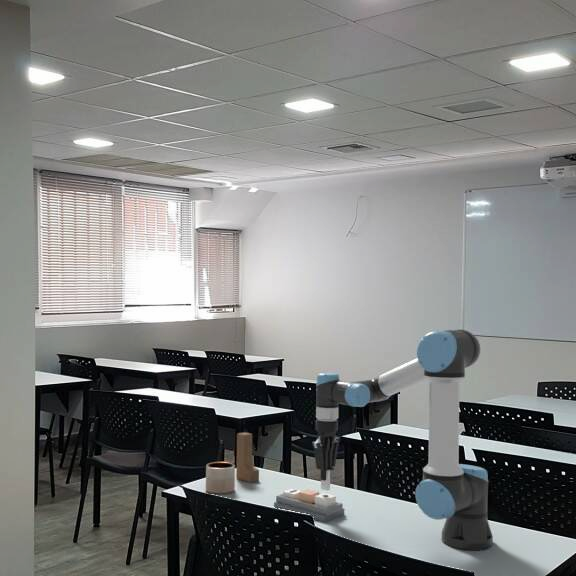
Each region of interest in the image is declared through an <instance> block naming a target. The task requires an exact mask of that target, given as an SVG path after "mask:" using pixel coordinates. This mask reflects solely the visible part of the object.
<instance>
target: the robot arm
mask: <svg viewBox="0 0 576 576" xmlns="http://www.w3.org/2000/svg"><path fill="white" fill-rule="evenodd" d="M480 354H481V343H480V342H479V340H478V338H477V337H476V336H475V334H473V332H471V331H468V330H465V329H440V330H435V331H431V332H428V333H427V334H425V335H424V336H423V337H422V338H421V339H420V340H419V342H418V345H417V348H416V357H417V358H415V359H413V360H410V361H409V362H406V363H404V364H402V365H400V366H399V365H398V366H397V367H395V368H393V369H391V370H388V371H387V372H385V373H383V374H380V375H378V376H376V377H374V378H372V379H367V380H366V379H365V380H358V381H343V380H341V379H340V376H339V374H338V373H336V372H320V373H318V374H317V375H316V384H315V386H316V389H315V390H316V392H315V393H316V394H315V396H316V401H315V403H316V404H315V405H316V406H315V407H316V409H315V412H316V413H315V418H316V420H315V431H316V432H317V436H316V440H315V441H312V443H311V445H312V448H313V452H314V458H315V467H316V469H317V470H318V471H319V470H320V489H321V490H324V491H330V490H331V477H332V475H331V474H332V473H331V472H332V471H334V470H335V468H334V467H336V464H337V463H336V462H337V456H338V450H339V444H340V443H341V438H340V437H338V436H337V434H336V432H337V431H338V430H339V420H338V419H339V404H340V405H344V406H350V407H354V408H356V407H359V408H362V407H365V406H366V405H368V404H369V403H375V402H383V401H386V400H388V399H389V398H390V397H391V396H393V395H395V394H397V393H401V392H403V391H404V390H406V389H409V388H411V387H414V386H416V385H418V384H421V383H423V382H425V381H428V382H429V384H428V385H429V386H428V463H427V464H426V465H425V466H424V467H423V469H422V480H421V481H420V482H419V483H418V484H417V486H416V488H415V501H416V503H417V506H418V507H419V509H420V510H421V511H422V513H423V514H424V515H426V517H428V518H430V519H432V520H439V521H440V520H441V521H442V520H445V522H444V524H443V528H442V530H441V541H442V543H444V544H445V545H447V546H449V547H452V548H456V549H460V550H465V549H466V550H467V551H478V550H477V549H483V550H486V548H487V549H489V548H488V547H490V548H491V547H492V546H493V545H492V544H494V543H493V542H494V541H493V540H494V539H493V533H492V530H491V526H490V524H489V520H488V501H489V500H488V495H489V492H488V491H489V479H488V471H487V469H485V468H483V467H481V466H476V465H470V464H463V463H459V458H460V457H459V456H460V455H459V450H460V449H459V447H460V445H459V444H460V442H459V440H460V383H461V382H462V381H463V379H465V377H466V376H465V375H466V373H465V372H466V368H469V367H472V366H473V365H474V364H475V363H476V362H477V361H478V359H479V358H480V356H481V355H480Z"/></svg>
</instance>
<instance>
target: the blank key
mask: <svg viewBox="0 0 576 576" xmlns="http://www.w3.org/2000/svg"><path fill="white" fill-rule="evenodd" d="M300 491H301V492H299V501H302V502H306V503H310V504H311V503H314V502H315V496H317V495H320V492H319V491H315V490H313V489H304V490H300Z"/></svg>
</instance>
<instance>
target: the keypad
mask: <svg viewBox="0 0 576 576" xmlns="http://www.w3.org/2000/svg"><path fill="white" fill-rule="evenodd" d="M275 497H276V498H275V501H274V502H273V508H274V507H275V508H280V509H285V510H291V511H295V512H300V513H306V514H310V515H312V516H313V517H314V519H313V520H315V521H319V522H322V523H327V522H330V521H331V520H334V519H336V518H340V517H341V516H344V515H345V508H343V506H344V505H343V503H341V502H337V501H336V505H334V506H331V507H328V508H325V507H322V506H318V505H315V502H314V503H311V504H310V503H306V502H302V501H299V500H295V499H291V498H287V497H283V493H282V494H278V495H276V496H275ZM275 508H274V509H275Z"/></svg>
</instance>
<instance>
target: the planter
mask: <svg viewBox="0 0 576 576" xmlns="http://www.w3.org/2000/svg"><path fill="white" fill-rule="evenodd" d="M205 466H206V467H205V491H206V492H207V493H210V494H214V495H215V494H216V495H225V494H230V493H232V492H234V491H235V487H236V485H235V481H236V480H235V477H236V476H235V475H236V473H235V472H236V470H235V468H236V465H235V463H232V462H229V461H214V462H209V463H207V464H206V465H205Z"/></svg>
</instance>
